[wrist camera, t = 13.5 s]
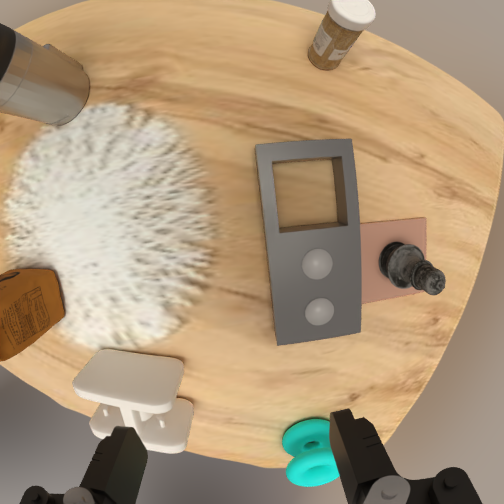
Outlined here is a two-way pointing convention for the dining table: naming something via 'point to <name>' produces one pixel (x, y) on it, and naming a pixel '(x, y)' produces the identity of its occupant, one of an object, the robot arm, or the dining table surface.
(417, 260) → the dark chess piece
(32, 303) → the coffee package
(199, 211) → the dining table surface
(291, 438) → the donuts
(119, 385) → the cable organizer
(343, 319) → the socket strip
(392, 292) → the tile pad
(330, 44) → the sprinkles bottle
